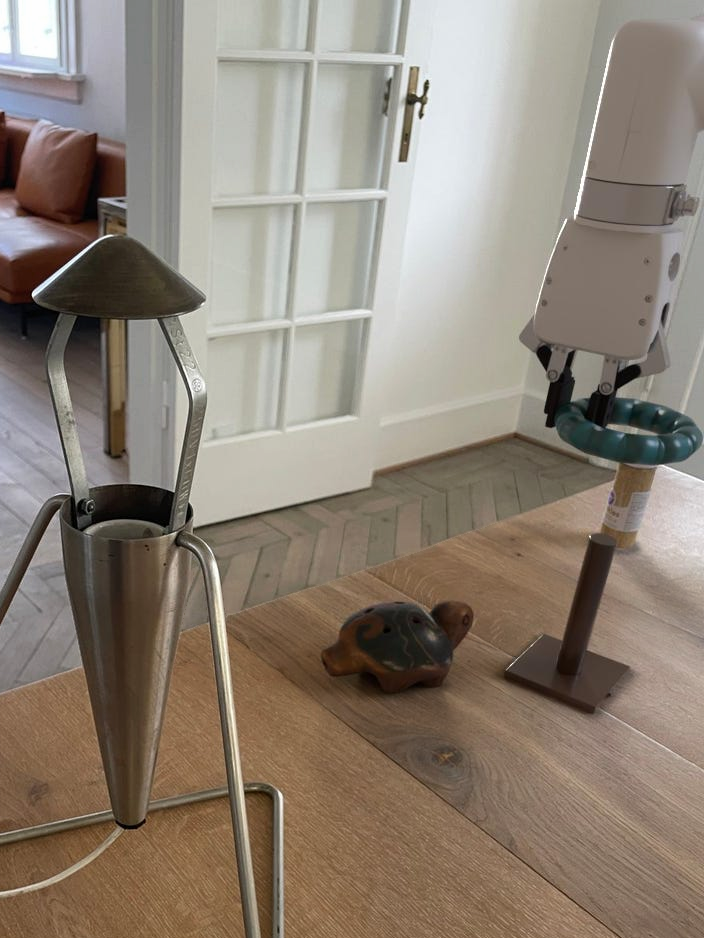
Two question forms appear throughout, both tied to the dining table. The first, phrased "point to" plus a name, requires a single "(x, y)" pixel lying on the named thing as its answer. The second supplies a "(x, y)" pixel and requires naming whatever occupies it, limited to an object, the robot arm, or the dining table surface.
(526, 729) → the dining table surface
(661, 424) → the ring
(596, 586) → the post
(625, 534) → the sprinkles bottle
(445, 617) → the decorative turtle
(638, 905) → the dining table surface
